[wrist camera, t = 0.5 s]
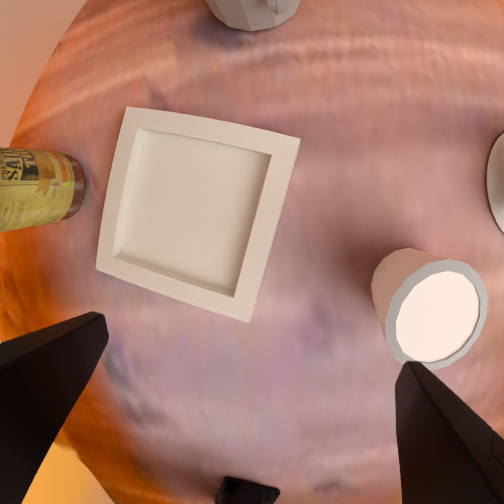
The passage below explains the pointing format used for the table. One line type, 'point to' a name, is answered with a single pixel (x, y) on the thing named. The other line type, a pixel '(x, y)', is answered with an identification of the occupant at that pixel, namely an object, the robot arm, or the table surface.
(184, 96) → the table surface
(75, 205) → the sauce bottle
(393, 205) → the table surface
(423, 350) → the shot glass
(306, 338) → the table surface
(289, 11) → the water bottle
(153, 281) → the holder tray
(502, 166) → the teacup
